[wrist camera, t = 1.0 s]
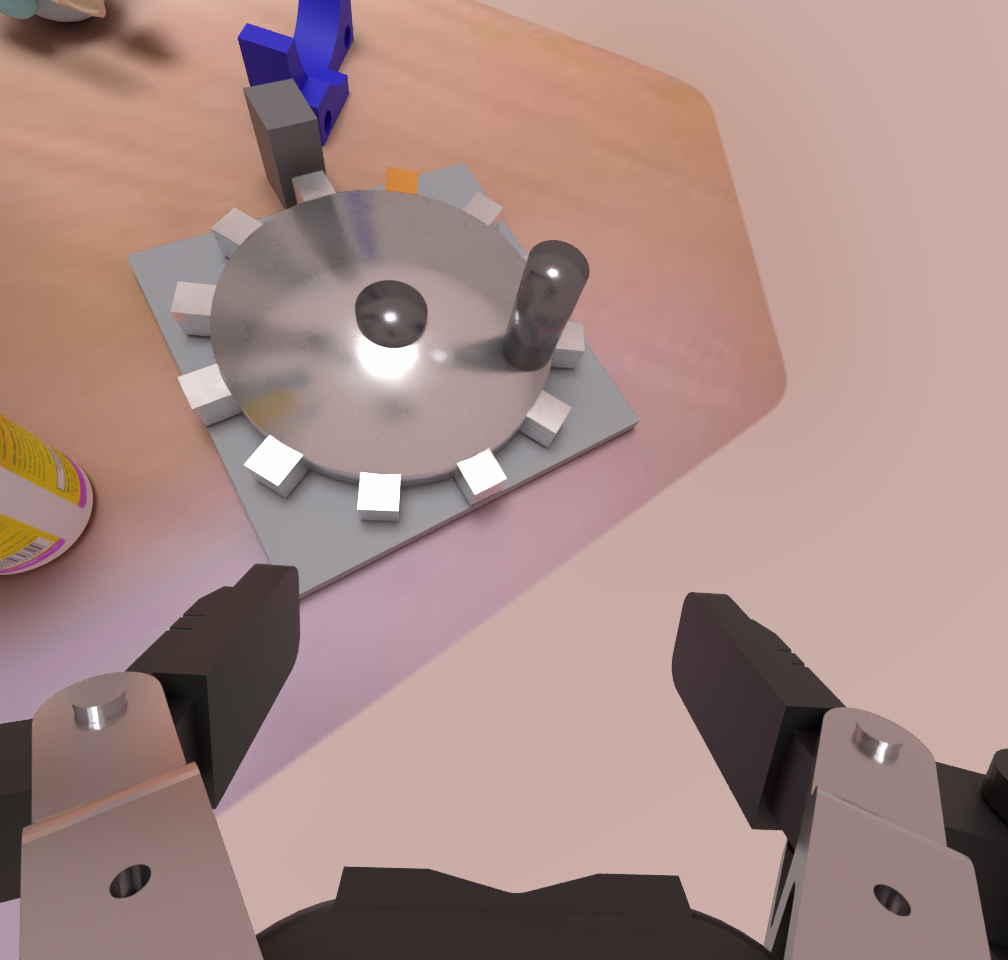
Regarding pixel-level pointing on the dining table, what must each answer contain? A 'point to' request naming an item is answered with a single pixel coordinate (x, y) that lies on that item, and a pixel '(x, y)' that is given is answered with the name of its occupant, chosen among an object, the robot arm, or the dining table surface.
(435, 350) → the sprocket
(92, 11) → the toy figure
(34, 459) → the supplement bottle
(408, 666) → the dining table surface
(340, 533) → the sprocket stand
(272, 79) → the cable clip
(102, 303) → the dining table surface
